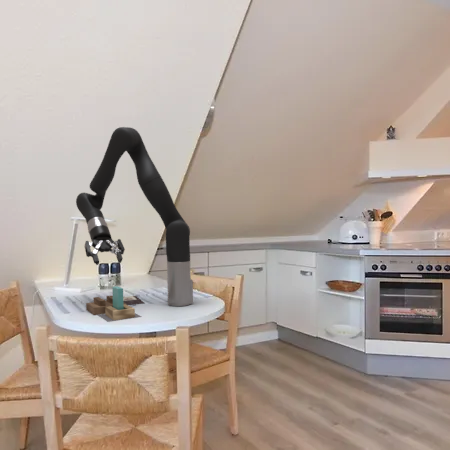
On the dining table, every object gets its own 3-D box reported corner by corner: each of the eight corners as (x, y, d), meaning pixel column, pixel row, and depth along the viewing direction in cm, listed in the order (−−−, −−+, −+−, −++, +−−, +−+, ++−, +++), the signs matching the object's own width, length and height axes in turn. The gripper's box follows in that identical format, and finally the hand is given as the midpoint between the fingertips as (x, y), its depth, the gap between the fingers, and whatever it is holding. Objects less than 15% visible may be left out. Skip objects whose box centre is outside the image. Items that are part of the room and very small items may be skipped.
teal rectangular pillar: (117, 313, 156) (117, 286, 156) (123, 317, 151) (123, 288, 151) (113, 314, 155) (112, 286, 155) (118, 317, 150) (118, 289, 150)
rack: (125, 312, 158) (125, 304, 158) (134, 317, 151) (134, 308, 151) (105, 315, 154) (105, 306, 154) (114, 320, 147) (113, 311, 147)
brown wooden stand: (117, 307, 170) (117, 294, 170) (126, 311, 161) (126, 298, 161) (86, 311, 163) (85, 297, 163) (94, 316, 155) (93, 302, 155)
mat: (129, 311, 161) (129, 310, 161) (142, 317, 151) (142, 316, 151) (97, 316, 155) (97, 315, 155) (108, 323, 145) (108, 321, 145)
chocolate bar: (122, 305, 170) (114, 297, 187) (122, 307, 170) (114, 299, 187) (145, 303, 174) (135, 295, 190) (145, 305, 174) (135, 297, 190)
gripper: (82, 225, 165) (92, 257, 156) (118, 223, 173) (130, 254, 164) (78, 238, 170) (88, 270, 160) (114, 236, 177) (125, 267, 168)
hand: (109, 262), depth 162 cm, fingers open, 8 cm apart
